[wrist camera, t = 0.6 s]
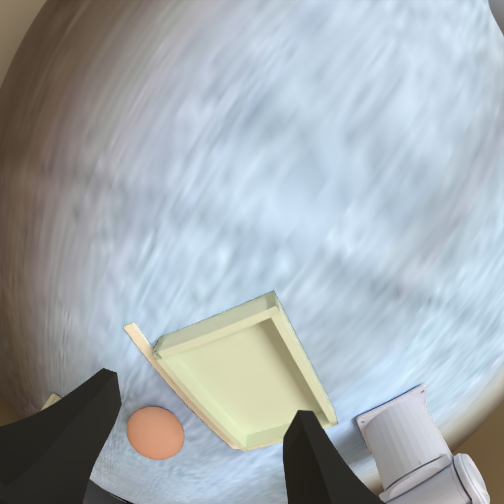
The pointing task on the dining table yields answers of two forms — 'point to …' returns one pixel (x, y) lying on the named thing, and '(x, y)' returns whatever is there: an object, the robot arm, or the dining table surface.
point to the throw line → (147, 351)
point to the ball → (155, 433)
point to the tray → (246, 372)
